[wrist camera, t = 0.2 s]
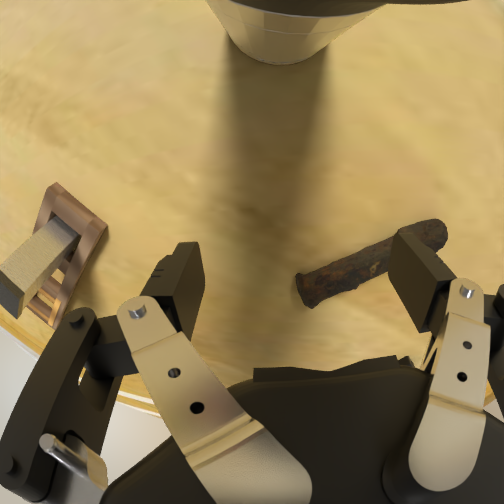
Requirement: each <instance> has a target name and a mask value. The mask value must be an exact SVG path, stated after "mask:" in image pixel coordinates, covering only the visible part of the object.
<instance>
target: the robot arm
mask: <svg viewBox="0 0 504 504" xmlns="http://www.w3.org/2000/svg"><path fill="white" fill-rule="evenodd" d="M205 1H206V2H207V3H208V5H209V6H210V8H211V9H212V11H213V12H214V13H215V15H216V16H217V18H218V19H219V21H220V22H221V24H222V25H223V27H224V28H225V30H226V31H227V33H228V34H229V36H230V37H231V39H232V40H233V42H234V43H235V45H236V46H237V47H238V48H239V49H240V50H241V51H242V52H244V53H245V54H246V55H248V56H249V57H251V58H253V59H255V60H258V61H260V62H264V63H268V64H274V65H287V64H294V63H297V62H301V61H303V60H305V59H307V58H309V57H311V56H313V55H314V54H315V53H316V52H318V51H319V50H321V49H322V48H323V47H325V46H326V45H327V44H329V43H330V42H332V41H333V40H334V39H336V38H337V37H338V36H340V35H341V34H343V33H344V32H345V31H347V30H348V29H350V28H351V27H352V26H354V25H355V24H357V23H358V22H360V21H361V20H363V19H364V18H365V17H367V16H368V15H370V14H372V13H373V12H375V11H376V10H378V9H379V8H381V7H383V6H384V5H386V4H445V3H454V2H461V1H468V0H205ZM388 276H389V280H390V282H391V283H392V285H393V287H394V288H395V290H396V292H397V294H398V295H399V297H400V299H401V301H402V302H403V304H404V306H405V308H406V310H407V311H408V313H409V315H410V317H411V319H412V321H413V322H414V324H415V326H416V328H417V330H418V332H419V333H424V332H429V331H431V333H432V334H431V337H430V339H429V341H428V345H427V348H426V351H425V354H424V358H423V361H422V364H421V366H420V369H418V368H414V367H410V366H404V365H399V362H398V360H397V357H396V355H393V356H387V357H380V358H373V359H366V360H362V361H359V362H357V363H354V364H351V365H348V366H345V367H343V368H340V369H337V370H334V371H319V370H311V369H303V368H296V367H275V368H254V372H253V379H250V380H246V381H243V382H240V383H237V384H235V385H233V386H231V387H229V388H227V389H226V388H225V387H224V386H223V384H222V383H221V382H220V381H219V379H218V378H217V377H216V376H215V374H214V373H213V372H212V371H211V369H210V368H209V367H208V365H207V364H206V363H205V361H204V360H203V359H202V358H201V356H200V355H199V354H198V352H197V351H196V350H195V348H194V347H193V346H192V344H191V343H190V341H191V337H192V333H193V330H194V326H195V322H196V318H197V315H198V311H199V307H200V304H201V300H202V297H203V293H204V289H205V275H204V269H203V264H202V259H201V253H200V248H199V244H198V242H181V243H178V245H177V247H176V248H175V250H174V252H173V254H172V255H167V256H165V257H164V258H163V259H162V260H160V261H159V262H158V264H157V266H156V267H155V269H154V271H153V272H152V274H151V277H150V278H149V280H148V281H147V283H146V285H145V287H144V288H143V290H142V292H141V294H140V296H137V297H134V298H131V299H129V300H127V301H125V302H124V303H123V304H122V305H121V306H120V307H119V308H118V310H117V315H113V316H108V317H103V318H98V319H97V317H96V315H95V313H94V311H93V310H92V309H90V308H86V307H83V308H78V309H75V310H73V311H71V312H70V313H68V314H67V315H66V316H65V317H64V318H63V319H62V321H61V322H60V324H59V326H58V327H57V329H56V330H55V332H54V334H53V335H52V337H51V339H50V340H49V342H48V344H47V345H46V347H45V349H44V351H43V352H42V354H41V356H40V358H39V360H38V361H37V363H36V365H35V367H34V369H33V371H32V372H31V374H30V376H29V378H28V380H27V382H26V384H25V386H24V388H23V390H22V392H21V394H20V396H19V398H18V400H17V403H16V405H15V407H14V409H13V411H12V413H11V416H10V418H9V420H8V423H7V425H6V428H5V430H4V432H3V435H2V437H1V440H0V484H1V485H2V486H3V487H4V488H6V489H8V490H9V491H11V492H13V493H15V494H17V495H18V496H20V497H22V498H23V499H24V500H26V501H28V502H30V503H32V504H504V423H503V422H502V421H500V420H499V419H497V418H496V417H494V416H493V415H491V414H490V413H488V412H486V411H485V410H484V409H483V403H484V397H485V391H486V383H487V379H488V381H489V383H490V385H491V388H492V390H493V392H494V395H495V397H496V399H497V402H498V404H499V407H500V409H501V412H502V415H503V417H504V284H502V285H500V287H499V289H498V291H497V294H496V296H495V295H487V294H484V293H483V290H482V288H481V287H480V286H479V285H478V284H476V283H475V282H473V281H471V280H469V279H466V278H457V277H456V276H455V275H454V273H453V272H452V271H451V270H450V269H449V268H448V266H447V265H446V264H445V263H443V261H442V260H441V258H440V257H438V255H437V254H436V253H435V252H434V251H433V250H432V249H431V248H429V247H428V246H426V245H424V244H423V243H422V242H421V241H420V240H419V239H418V238H417V237H416V236H415V235H414V234H413V233H396V234H395V235H394V237H393V241H392V247H391V253H390V259H389V264H388ZM83 367H85V368H86V371H85V373H84V375H83V378H82V380H81V382H80V385H78V380H79V376H80V374H81V371H82V369H83ZM136 373H140V375H141V378H142V380H143V382H144V384H145V386H146V388H147V390H148V392H149V394H150V396H151V398H152V400H153V402H154V404H155V406H156V407H157V409H158V411H159V413H160V415H161V417H162V419H163V420H164V422H165V424H166V426H167V427H168V429H169V431H170V433H171V434H172V435H171V436H170V437H169V438H168V439H167V440H165V441H164V442H163V443H162V444H161V445H159V446H158V447H157V448H156V449H154V450H153V451H152V452H151V453H149V454H148V455H147V456H146V457H145V458H143V459H142V460H141V461H139V462H138V463H137V464H136V465H134V466H133V467H132V468H130V469H129V470H128V471H126V472H125V473H124V474H122V475H121V476H120V477H119V478H117V479H116V480H115V481H113V482H112V483H111V484H110V485H109V486H108V477H107V467H106V464H105V462H104V461H103V459H102V458H101V457H100V454H101V450H102V446H103V442H104V439H105V435H106V431H107V427H108V424H109V421H110V417H111V414H112V410H113V407H114V404H115V401H116V397H117V394H118V391H119V388H120V385H121V382H122V379H123V376H124V375H130V374H136Z"/></svg>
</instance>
